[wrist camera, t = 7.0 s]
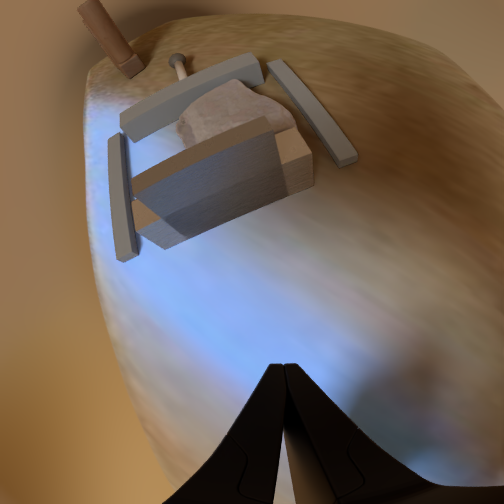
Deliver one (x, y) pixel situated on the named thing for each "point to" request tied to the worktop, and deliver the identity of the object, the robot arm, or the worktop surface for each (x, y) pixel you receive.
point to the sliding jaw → (219, 181)
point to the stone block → (229, 113)
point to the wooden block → (110, 38)
